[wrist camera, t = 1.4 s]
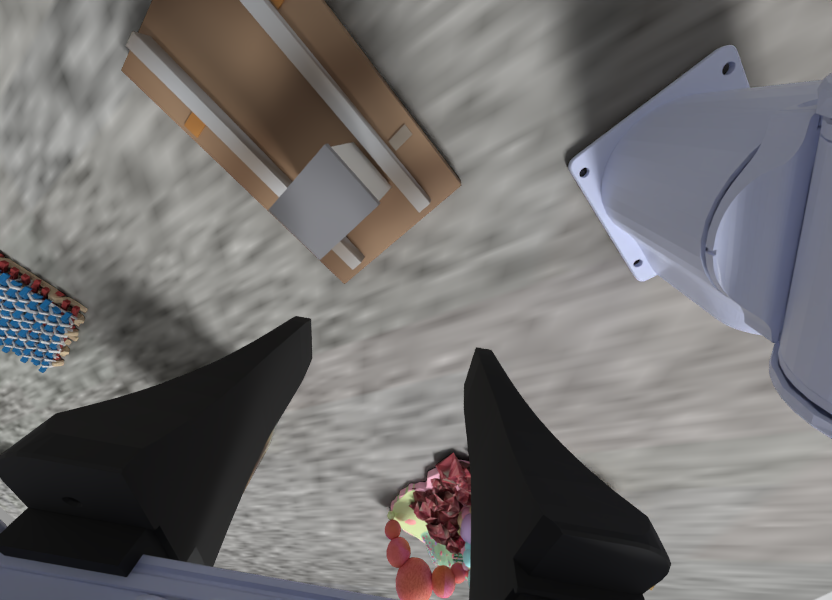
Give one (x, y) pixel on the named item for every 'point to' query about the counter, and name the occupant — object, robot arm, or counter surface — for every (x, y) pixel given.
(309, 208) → the fader knob
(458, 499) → the candy landscape model
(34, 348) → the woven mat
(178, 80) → the fader board
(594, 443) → the counter surface
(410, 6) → the counter surface
